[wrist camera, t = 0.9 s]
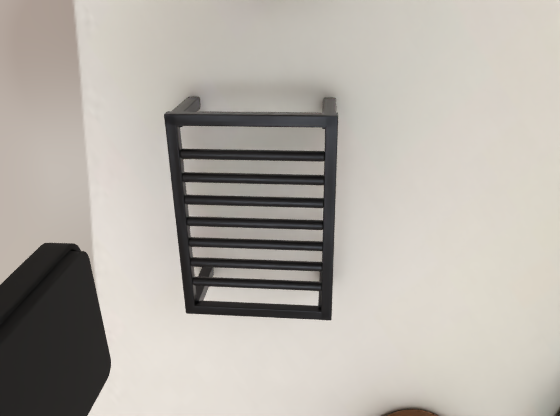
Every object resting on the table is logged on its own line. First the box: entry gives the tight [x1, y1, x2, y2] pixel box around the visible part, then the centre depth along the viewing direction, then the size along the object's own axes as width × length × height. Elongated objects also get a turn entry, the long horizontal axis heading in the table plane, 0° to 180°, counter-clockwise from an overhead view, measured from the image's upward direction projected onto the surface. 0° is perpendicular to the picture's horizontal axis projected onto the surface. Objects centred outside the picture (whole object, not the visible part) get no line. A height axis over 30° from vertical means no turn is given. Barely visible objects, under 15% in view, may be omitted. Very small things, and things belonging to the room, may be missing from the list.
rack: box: [164, 97, 338, 320], centre depth 34 cm, size 14×10×5 cm
